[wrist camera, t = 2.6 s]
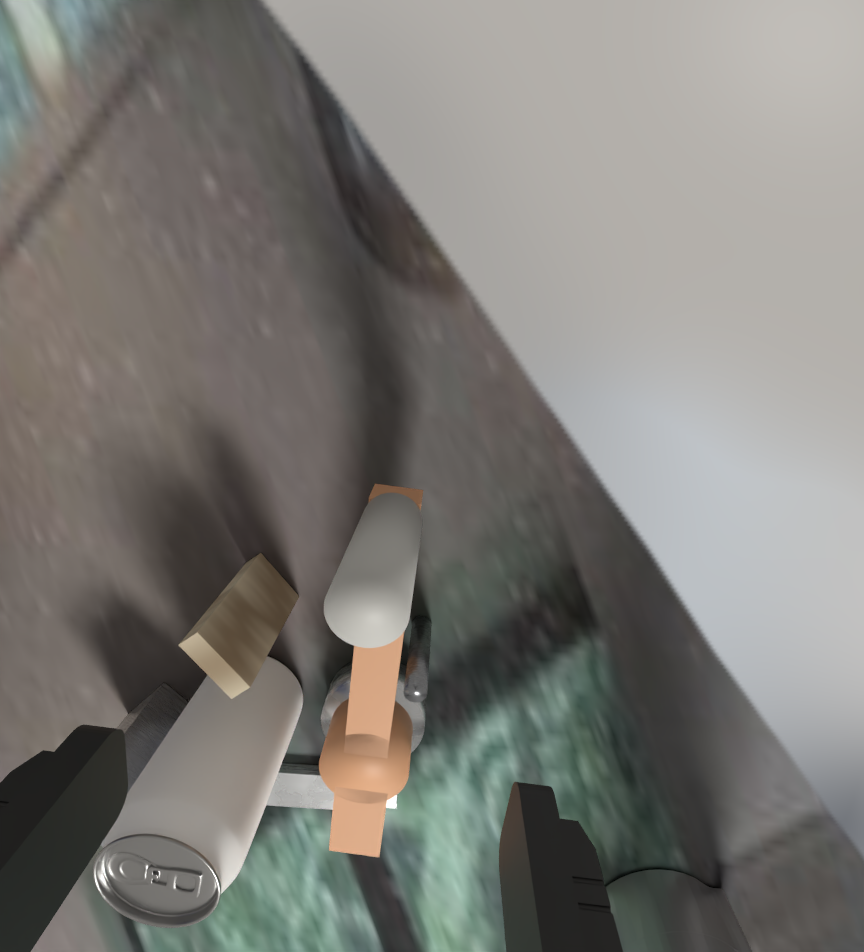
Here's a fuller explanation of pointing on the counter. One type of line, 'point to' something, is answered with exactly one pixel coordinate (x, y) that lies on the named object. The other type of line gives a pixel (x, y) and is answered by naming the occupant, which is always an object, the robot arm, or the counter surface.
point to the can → (199, 802)
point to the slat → (241, 626)
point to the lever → (372, 668)
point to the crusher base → (301, 780)
